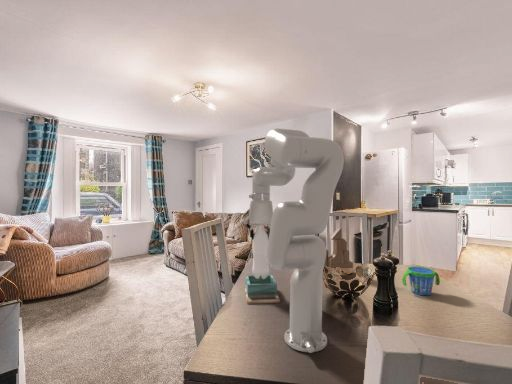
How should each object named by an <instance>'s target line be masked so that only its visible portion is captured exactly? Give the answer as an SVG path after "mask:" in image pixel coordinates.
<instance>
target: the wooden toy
mask: <svg viewBox="0 0 512 384" xmlns="http://www.w3.org/2000/svg"><path fill="white" fill-rule="evenodd" d="M342 230H343V229H342V227H339V226H338V227H337V228H336V229H335V231H333V233H332V234H331V235H330V237H329V240H333V242H332V243H333V244H332V248H333V249H332V253H331V255H330V256H329V250H328V249H327V248H326V259H325V263H324V266H327V267H331V268H336V267H340V268H353V269H354V262H353V261H351V260H350V250H348V247H347V246H348V242H347V241H346V239H345V238H343V237H342V235H343V234H342V232H343V231H342Z"/></svg>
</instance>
